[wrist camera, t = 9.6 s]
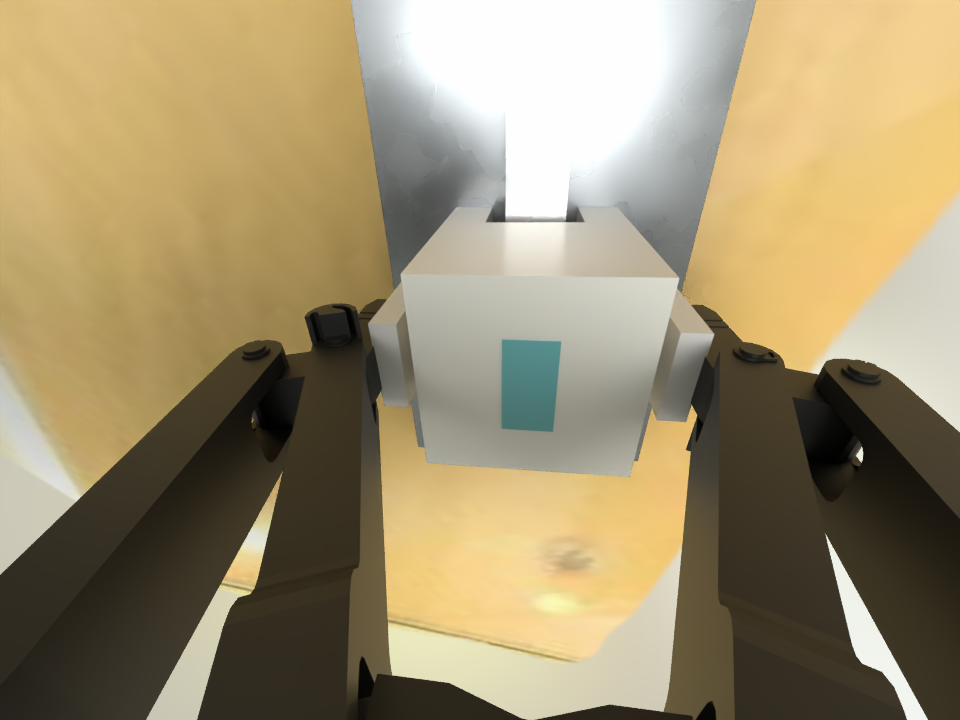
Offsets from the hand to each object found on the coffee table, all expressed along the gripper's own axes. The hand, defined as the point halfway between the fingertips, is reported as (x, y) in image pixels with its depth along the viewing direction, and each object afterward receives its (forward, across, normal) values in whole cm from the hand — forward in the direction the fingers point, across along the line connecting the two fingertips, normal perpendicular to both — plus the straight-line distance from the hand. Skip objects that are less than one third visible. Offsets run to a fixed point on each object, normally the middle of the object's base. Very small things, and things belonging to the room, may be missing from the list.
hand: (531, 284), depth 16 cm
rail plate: (+2, 0, 0) cm, 2 cm away
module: (+1, 0, 0) cm, 1 cm away
